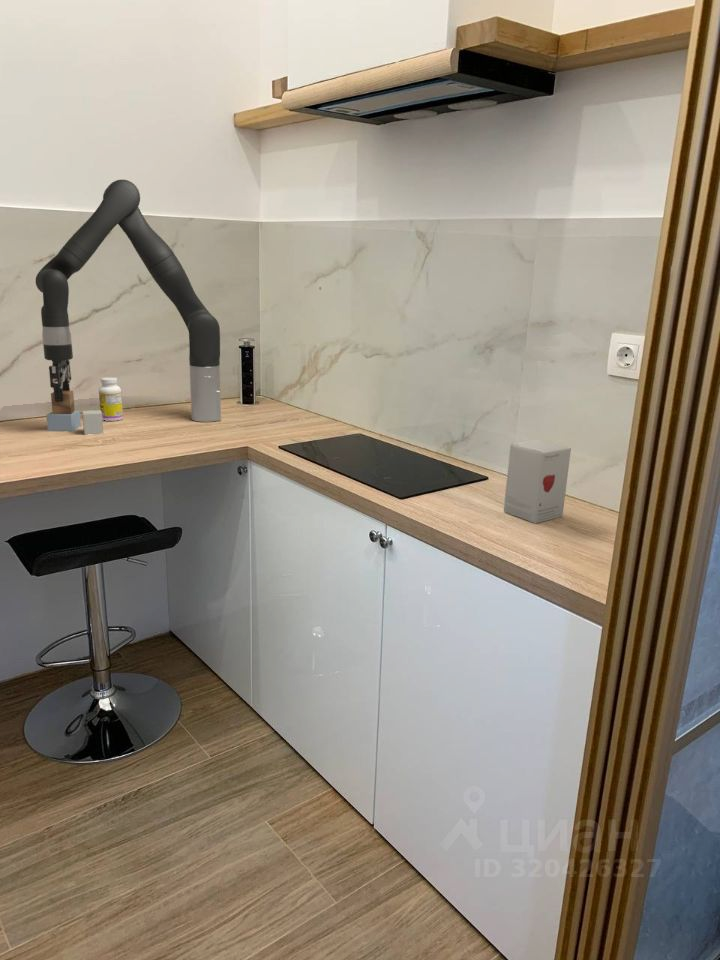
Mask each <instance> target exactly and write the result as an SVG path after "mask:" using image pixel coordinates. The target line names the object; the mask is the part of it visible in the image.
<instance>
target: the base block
mask: <svg viewBox="0 0 720 960" xmlns="http://www.w3.org/2000/svg"><path fill="white" fill-rule="evenodd" d="M81 421H82V420H81V410H75V411H74V412H73V413H72V414H53V412H52V411H51V412H49V413H47V414H46V424H47V425H46V426H47V431H48V432H64V431H68V433H73V432H74V431H76V430H78V429H79V427H80V428H81V427H82V422H81ZM77 428H78V429H77ZM72 431H73V432H72Z"/></svg>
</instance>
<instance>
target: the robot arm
mask: <svg viewBox="0 0 720 960" xmlns="http://www.w3.org/2000/svg"><path fill="white" fill-rule="evenodd" d="M140 202H141V194H140V190H139V188H138V187H137V185H135V183H133V182H132V181H130V180H128V179H118V180H114V181H112V182H111V183H110V184H109V185H107V188H106V189H104V192H103V195H102V201H101V202H100V204H99V205H98V206H97V208H96V209H95V211H94V212H93V214H91V216H90V217H89V218H88V219H87V220H86V221H85V222H84V223H83V224H82V225H81V226H80V227H79V229H77V230H76V231H75V232H74V233H73V234H72V235H71V236H70V238H69V239H68V240H67V242H65V243H64V245H63V246H62V247H61V249H60V250H59V251H58V253H57V254H56V255H55V256H54V257H52V258H51V259H50V260H49V261H48V262H47V263H46V264H45V265H44V266H43V267H42V268H41V269H40V270H39V271H38V273H37V274H36V276H35V286H36V287H37V290H39V291H40V292H41V293H42V301H43V306H41V309H40V313H41V314H40V316H41V317H40V318H41V325H42V331H41V332H42V334H41V335H42V345H43V355H44V359H45V360H46V361H51V362H52V364H51V365H49V366H48V370H49V371H48V372H49V373H48V374H49V382H50V383H49V384H50V385H49V386H50V388H52V389H53V392H54V398H55V402H62V401H63V391H71V389H70V384H71V381H72V371H71V364H70V363H71V362H70V360H72V359H73V358H74V355H73V354H74V353H73V345H72V344H73V342H72V334H71V330H70V329H71V327H70V322H69V321H70V319H69V312H68V308H69V294H70V290H69V289H70V288H69V287H70V286H69V281H68V280H69V279H70V278H71V277H72V275H74V274H76V273H78V272H79V271H80V270H82V269H83V267H84V266H85V265H86V264H87V263H88V261H89V260H90V259H91V258H92V257H93V256H94V254H95V253H96V251H97V250H98V249H99V247H100V245H101V244H102V243H103V242H104V240H105V239H106V238H107V237H108V235H109V234H110V233H111V231H112V230H113V229H114V228H115V227H116V226H117V225H118V226H119V227H120V229H121V230H122V231H123V232H124V234H125V235H126V237H127V238H128V239H129V241H130V242H131V245H132V246H133V248H134V250H135V252H136V254H137V255H138V256H139V257H140V259H141V261H142V263H143V264H144V266H145V268H146V270H147V271H148V272H149V274H150V275H151V277H152V279H153V280H154V281H155V283H156V284H157V286H158V287H159V289H161V291H162V292H163V293H164V294H165V296H166V297H167V298H168V299H169V300H170V301H171V302H172V304H173V305H174V306H175V308H176V309H177V311H178V313H179V315H180V317H181V319H182V320H183V323H184V324H185V327H186V329H187V331H188V342H189V344H188V346H189V355H188V356H189V357H188V360H189V361H188V362H189V386H190V387H189V389H190V415H191V417H190V418H191V421H196V422H201V423H202V422H203V423H204V422H205V423H209V422H218V421H219V422H220V421H221V420H222V394H221V393H222V392H221V391H222V390H221V389H222V388H221V371H220V370H221V367H220V366H221V364H220V362H221V361H220V360H221V330H220V329H221V328H220V323H219V322H218V321H219V320H217V318H216V317H215V316H213V315H212V313H211V312H209V310H208V309H207V307H206V306H205V305H204V303H203V302H202V301H201V300H200V298H199V297H198V296H197V294H196V291H195V290H194V288H193V286H192V284H191V281H190V279H189V277H188V275H187V273H186V271H185V268H184V267H183V265H182V263H181V262H180V261H179V259H178V257H177V256H176V254H175V253H174V251H173V250H172V248H171V247H170V246H169V244H168V243H167V242H166V241H165V240H164V239H163V238H162V237H161V236H160V235H159V234H158V233H157V232H156V231H155V230H154V229H153V228H152V227H151V226H150V224H149V223H148V221H147V220H146V218H145V217H144V215H143V214H142V212H141V210H140V208H139V206H140Z"/></svg>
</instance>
